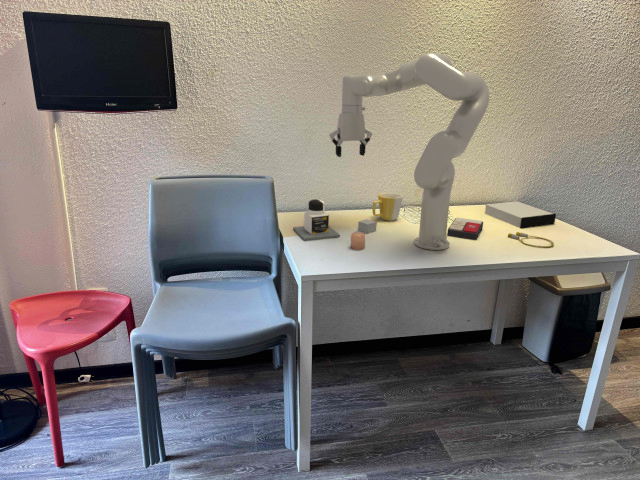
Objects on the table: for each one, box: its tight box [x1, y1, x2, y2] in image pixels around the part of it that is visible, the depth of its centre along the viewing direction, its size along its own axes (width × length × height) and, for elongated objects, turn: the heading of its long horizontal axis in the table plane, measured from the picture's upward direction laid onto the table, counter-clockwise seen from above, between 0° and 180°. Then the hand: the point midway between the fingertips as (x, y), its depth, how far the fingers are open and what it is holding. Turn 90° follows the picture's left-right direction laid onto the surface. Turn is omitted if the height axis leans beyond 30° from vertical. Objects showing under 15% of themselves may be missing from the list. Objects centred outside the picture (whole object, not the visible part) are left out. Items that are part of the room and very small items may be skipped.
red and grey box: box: [446, 217, 484, 241], centre depth 192 cm, size 11×4×15 cm
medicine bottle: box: [303, 199, 330, 235], centre depth 186 cm, size 7×7×12 cm
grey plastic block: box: [357, 218, 378, 235], centre depth 192 cm, size 5×5×4 cm
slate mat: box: [292, 225, 341, 242], centre depth 188 cm, size 14×14×1 cm
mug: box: [372, 191, 404, 222], centre depth 206 cm, size 14×10×10 cm
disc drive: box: [484, 200, 557, 229], centre depth 211 cm, size 18×22×5 cm
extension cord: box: [507, 231, 555, 249], centre depth 184 cm, size 12×16×2 cm
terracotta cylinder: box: [350, 231, 366, 251], centre depth 174 cm, size 5×5×5 cm
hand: (350, 155), depth 189 cm, fingers open, 9 cm apart
